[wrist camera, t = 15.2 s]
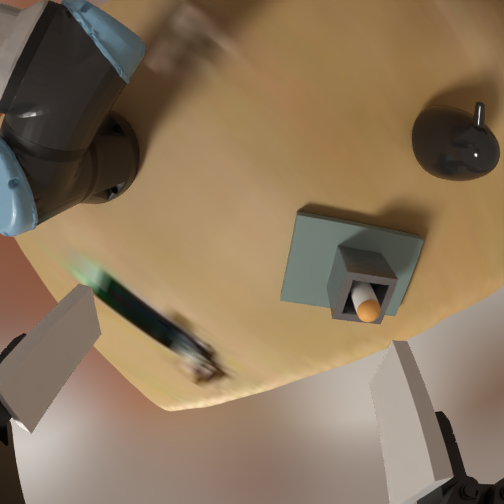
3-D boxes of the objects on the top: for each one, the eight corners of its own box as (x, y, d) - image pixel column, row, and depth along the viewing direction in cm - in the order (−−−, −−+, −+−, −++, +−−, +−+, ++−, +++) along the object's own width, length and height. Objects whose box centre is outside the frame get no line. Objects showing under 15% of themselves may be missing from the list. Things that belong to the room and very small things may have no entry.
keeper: (280, 293, 47) (277, 350, 35) (297, 211, 41) (301, 248, 29) (391, 309, 46) (415, 362, 34) (419, 235, 40) (459, 276, 28)
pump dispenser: (453, 105, 31) (516, 105, 17) (460, 171, 35) (520, 196, 21) (396, 105, 33) (449, 99, 19) (405, 176, 37) (458, 204, 23)
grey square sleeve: (326, 287, 43) (332, 318, 36) (337, 245, 41) (347, 271, 33) (368, 293, 43) (380, 324, 36) (381, 253, 40) (398, 279, 33)
